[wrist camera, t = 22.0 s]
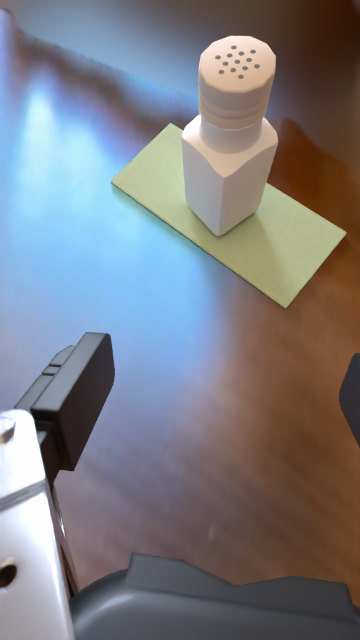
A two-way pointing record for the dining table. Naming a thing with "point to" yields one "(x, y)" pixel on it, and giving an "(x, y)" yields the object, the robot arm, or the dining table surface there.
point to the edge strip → (244, 238)
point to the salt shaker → (230, 133)
